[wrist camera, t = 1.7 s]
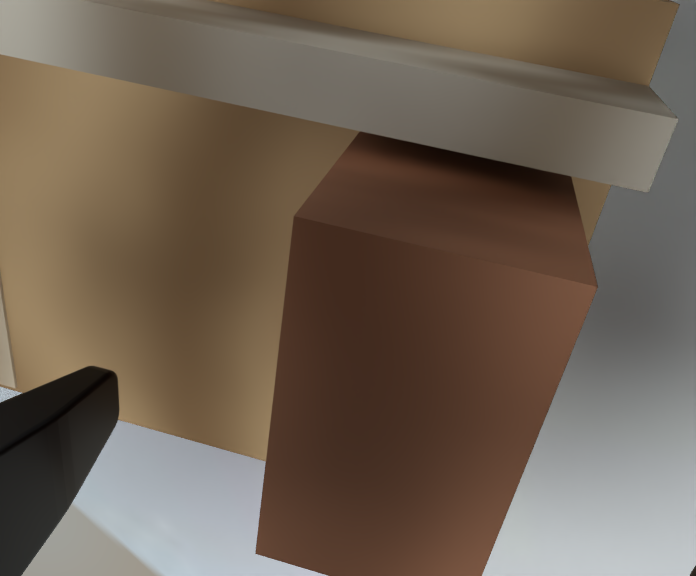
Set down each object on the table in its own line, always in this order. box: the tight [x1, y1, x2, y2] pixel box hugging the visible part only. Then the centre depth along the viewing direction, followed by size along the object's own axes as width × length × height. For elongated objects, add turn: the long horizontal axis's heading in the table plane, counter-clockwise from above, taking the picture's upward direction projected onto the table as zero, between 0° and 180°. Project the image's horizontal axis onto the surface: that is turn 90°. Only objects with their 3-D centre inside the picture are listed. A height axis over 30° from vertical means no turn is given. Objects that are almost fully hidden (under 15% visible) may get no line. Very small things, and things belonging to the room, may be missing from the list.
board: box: [0, 0, 680, 461], centre depth 15 cm, size 16×14×4 cm
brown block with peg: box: [255, 131, 598, 576], centre depth 13 cm, size 4×11×6 cm, turn 172°
